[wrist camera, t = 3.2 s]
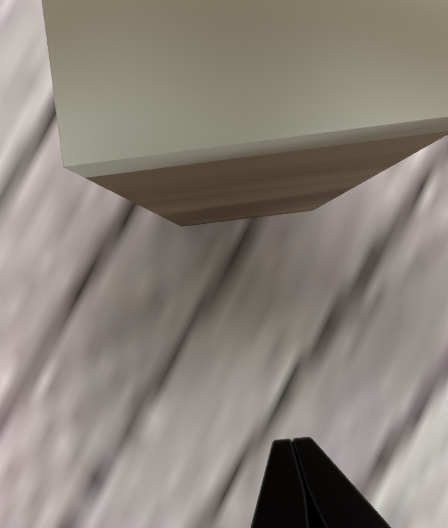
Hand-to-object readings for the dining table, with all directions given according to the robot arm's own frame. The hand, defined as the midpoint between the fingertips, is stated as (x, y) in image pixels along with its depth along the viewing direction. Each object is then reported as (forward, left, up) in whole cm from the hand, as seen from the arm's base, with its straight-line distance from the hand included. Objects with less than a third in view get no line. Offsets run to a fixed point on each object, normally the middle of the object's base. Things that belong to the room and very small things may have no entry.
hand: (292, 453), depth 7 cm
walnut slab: (+5, -6, -10) cm, 13 cm away
